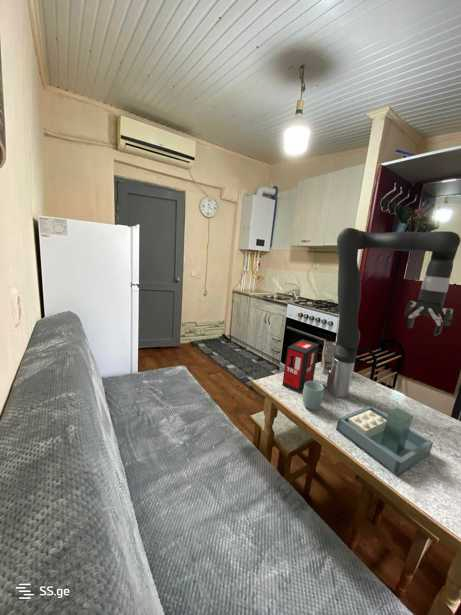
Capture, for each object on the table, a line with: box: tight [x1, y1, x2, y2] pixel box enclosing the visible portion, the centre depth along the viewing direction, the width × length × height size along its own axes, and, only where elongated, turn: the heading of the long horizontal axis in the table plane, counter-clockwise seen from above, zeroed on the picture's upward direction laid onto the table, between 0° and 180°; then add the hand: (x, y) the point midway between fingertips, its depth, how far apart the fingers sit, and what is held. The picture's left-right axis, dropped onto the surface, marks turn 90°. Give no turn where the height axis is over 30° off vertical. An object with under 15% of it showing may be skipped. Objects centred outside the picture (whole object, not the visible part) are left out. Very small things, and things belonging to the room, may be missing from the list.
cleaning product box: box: [281, 339, 320, 394], centre depth 124 cm, size 16×9×20 cm, turn 141°
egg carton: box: [348, 410, 387, 438], centre depth 94 cm, size 7×13×5 cm, turn 119°
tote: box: [335, 405, 434, 477], centre depth 90 cm, size 22×20×5 cm
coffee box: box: [320, 340, 337, 375], centre depth 141 cm, size 9×6×16 cm
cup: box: [302, 380, 325, 411], centre depth 107 cm, size 8×8×10 cm
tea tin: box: [381, 407, 414, 454], centre depth 86 cm, size 5×5×13 cm
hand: (422, 331), depth 96 cm, fingers open, 8 cm apart
